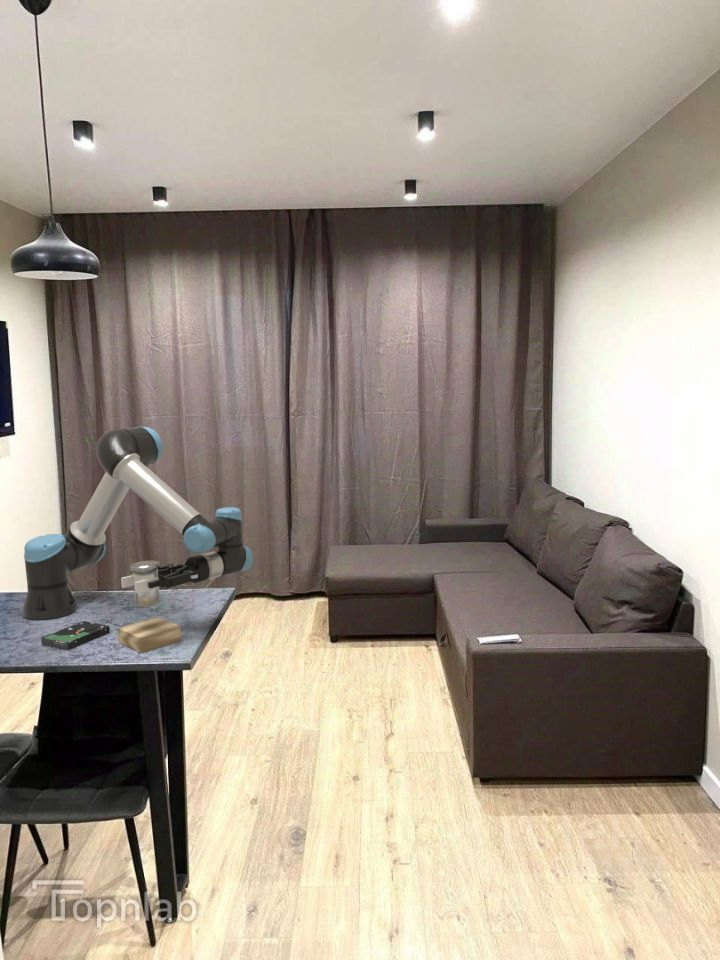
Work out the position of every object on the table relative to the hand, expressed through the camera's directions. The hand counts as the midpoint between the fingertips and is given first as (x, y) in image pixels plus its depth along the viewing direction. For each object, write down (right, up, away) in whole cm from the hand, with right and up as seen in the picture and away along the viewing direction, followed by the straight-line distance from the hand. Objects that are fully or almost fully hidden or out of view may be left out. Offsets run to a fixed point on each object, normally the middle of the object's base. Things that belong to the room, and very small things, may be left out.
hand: (128, 585), depth 188 cm
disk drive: (-17, -17, +9) cm, 26 cm away
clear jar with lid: (+4, -5, +4) cm, 8 cm away
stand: (+4, -16, +6) cm, 18 cm away
